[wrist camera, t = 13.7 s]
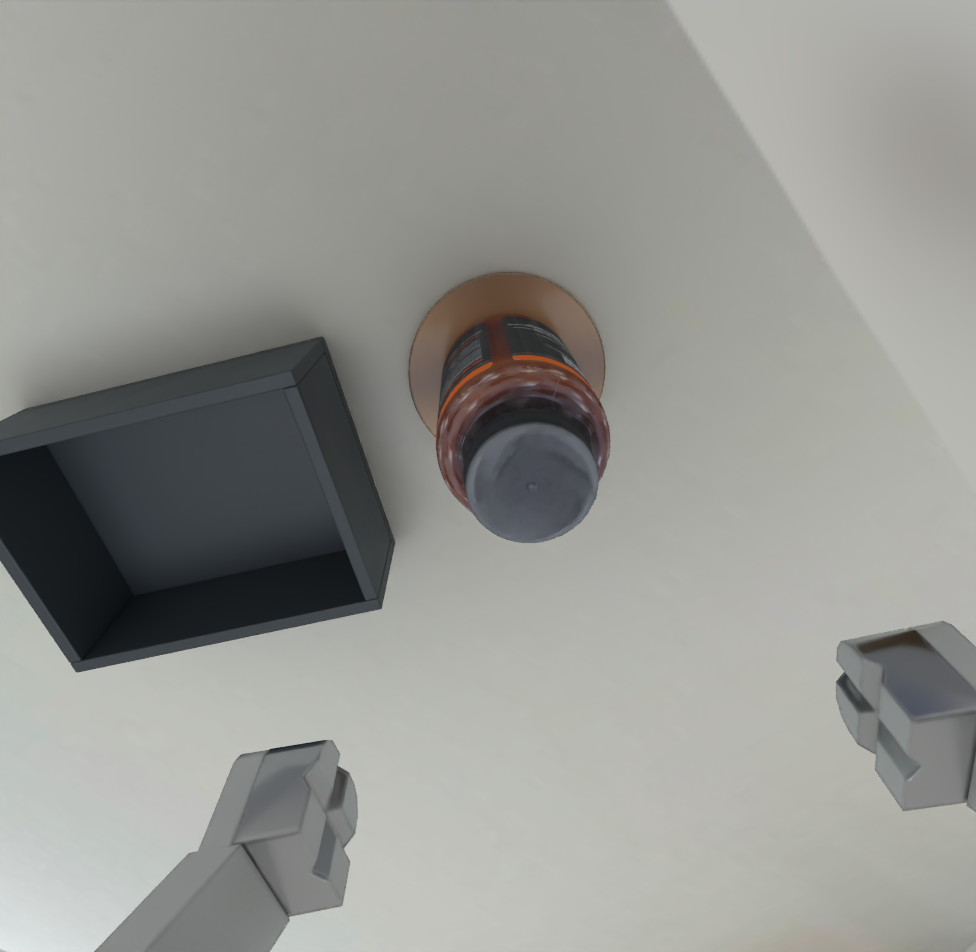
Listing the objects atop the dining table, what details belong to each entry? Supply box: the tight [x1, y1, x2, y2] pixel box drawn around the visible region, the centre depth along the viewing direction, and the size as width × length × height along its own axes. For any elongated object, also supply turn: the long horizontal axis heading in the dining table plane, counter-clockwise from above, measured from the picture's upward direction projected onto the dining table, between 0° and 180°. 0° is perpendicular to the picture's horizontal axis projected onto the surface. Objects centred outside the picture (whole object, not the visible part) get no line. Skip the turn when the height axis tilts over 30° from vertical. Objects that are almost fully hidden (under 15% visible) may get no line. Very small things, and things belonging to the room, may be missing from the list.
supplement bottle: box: [436, 314, 610, 543], centre depth 23 cm, size 6×6×11 cm
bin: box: [0, 337, 395, 672], centre depth 28 cm, size 11×15×6 cm
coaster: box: [409, 273, 605, 437], centre depth 29 cm, size 9×9×1 cm
